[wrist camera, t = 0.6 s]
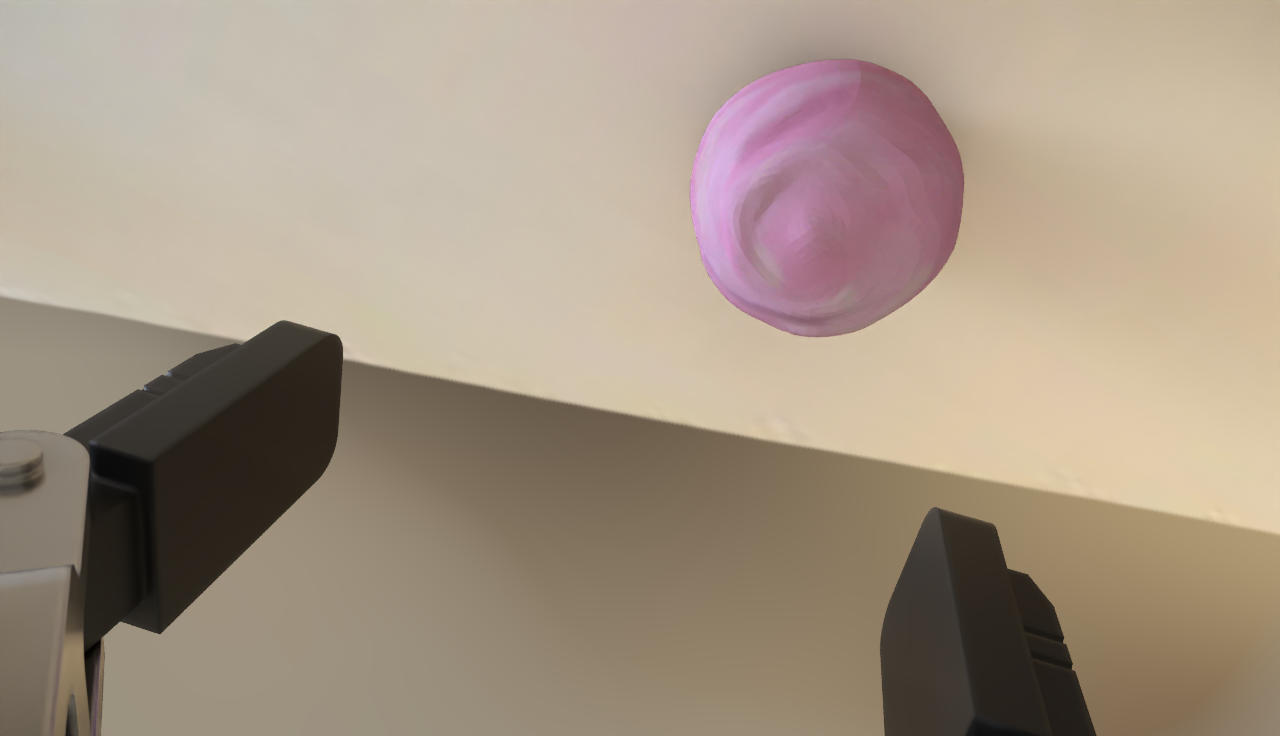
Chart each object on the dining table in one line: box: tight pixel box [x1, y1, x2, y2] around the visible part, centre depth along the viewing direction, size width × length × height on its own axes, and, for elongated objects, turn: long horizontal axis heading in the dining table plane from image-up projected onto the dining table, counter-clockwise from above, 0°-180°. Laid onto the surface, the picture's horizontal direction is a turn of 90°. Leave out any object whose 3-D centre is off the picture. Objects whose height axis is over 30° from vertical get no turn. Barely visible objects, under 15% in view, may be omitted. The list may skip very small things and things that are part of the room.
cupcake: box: [690, 59, 964, 337], centre depth 30 cm, size 9×9×10 cm
